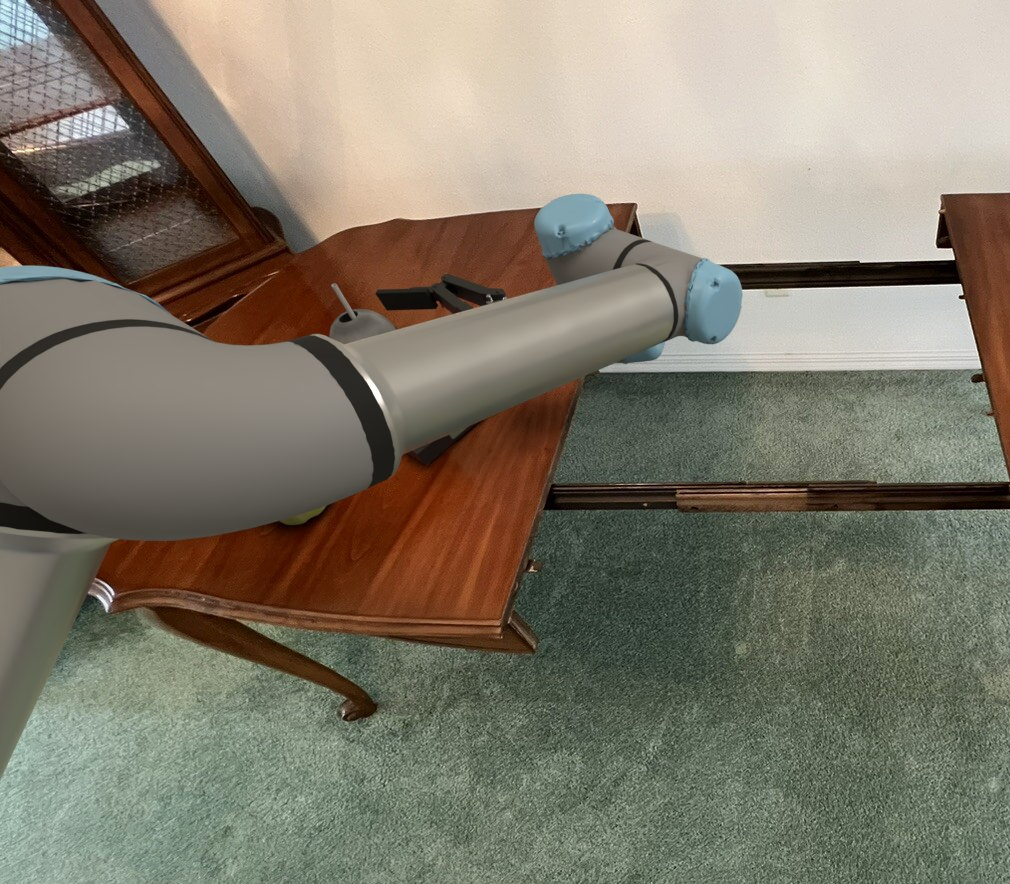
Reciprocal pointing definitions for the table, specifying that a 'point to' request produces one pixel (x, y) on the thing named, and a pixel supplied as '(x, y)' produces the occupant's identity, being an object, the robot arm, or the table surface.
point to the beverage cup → (357, 323)
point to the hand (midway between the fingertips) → (357, 336)
